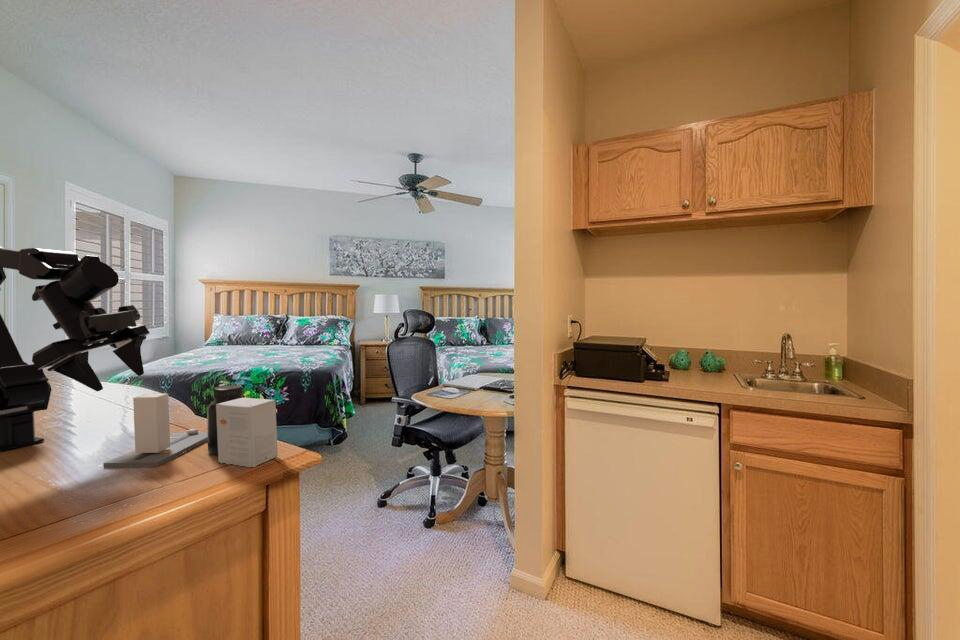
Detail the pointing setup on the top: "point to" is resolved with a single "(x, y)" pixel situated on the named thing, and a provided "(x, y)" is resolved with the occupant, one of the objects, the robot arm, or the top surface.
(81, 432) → the top surface
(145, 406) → the fader tab
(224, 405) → the small box
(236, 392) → the supplement bottle
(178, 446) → the board
